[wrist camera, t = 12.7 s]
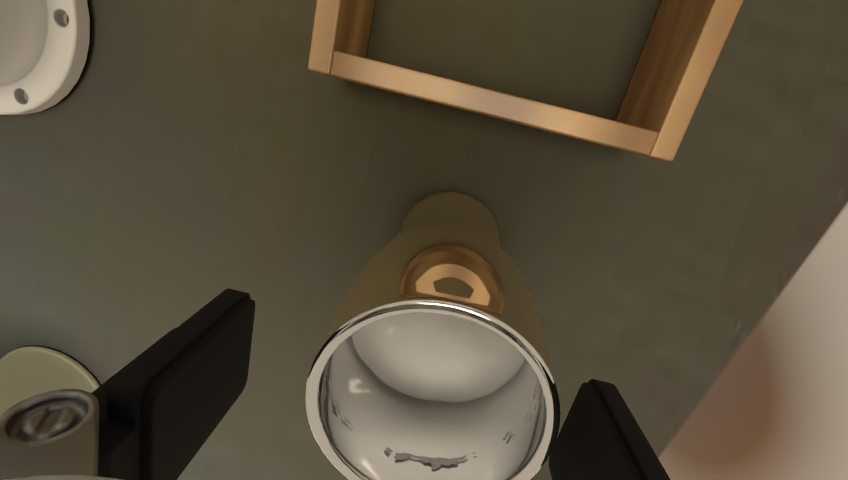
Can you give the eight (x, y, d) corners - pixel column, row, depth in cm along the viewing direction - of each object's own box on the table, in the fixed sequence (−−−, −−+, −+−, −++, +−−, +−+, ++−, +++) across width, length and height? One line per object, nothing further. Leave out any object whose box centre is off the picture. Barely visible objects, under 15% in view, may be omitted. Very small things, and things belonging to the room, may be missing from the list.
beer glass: (414, 166, 23) (335, 249, 9) (525, 207, 23) (622, 355, 9) (379, 269, 25) (271, 467, 11) (481, 306, 25) (502, 550, 11)
